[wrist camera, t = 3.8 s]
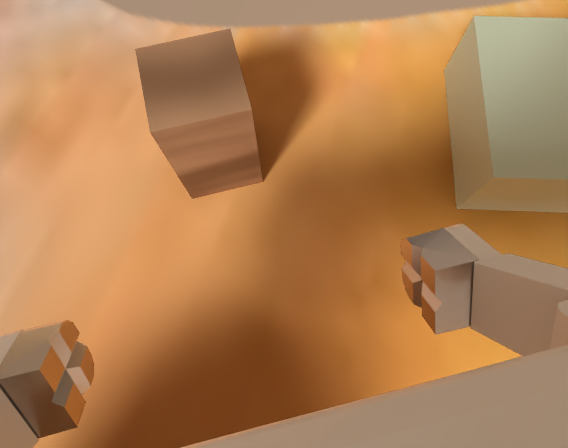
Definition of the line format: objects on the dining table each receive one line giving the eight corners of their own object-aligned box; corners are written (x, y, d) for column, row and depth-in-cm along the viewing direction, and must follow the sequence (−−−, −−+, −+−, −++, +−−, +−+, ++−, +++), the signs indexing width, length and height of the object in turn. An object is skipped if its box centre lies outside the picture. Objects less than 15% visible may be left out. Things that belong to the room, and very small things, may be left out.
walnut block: (263, 181, 26) (251, 109, 18) (192, 198, 25) (150, 132, 18) (247, 120, 27) (230, 28, 19) (179, 136, 27) (135, 49, 19)
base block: (620, 215, 25) (699, 183, 20) (454, 210, 25) (493, 177, 20) (590, 76, 28) (653, 20, 23) (442, 73, 28) (473, 16, 23)
